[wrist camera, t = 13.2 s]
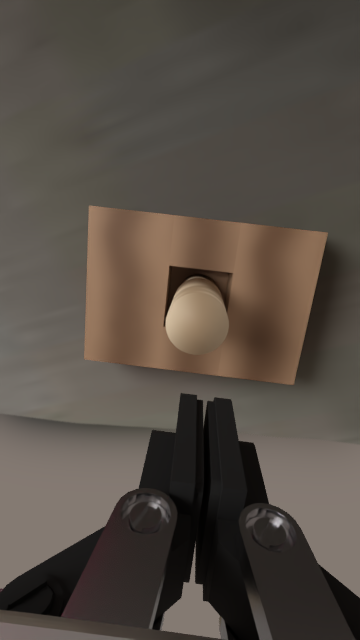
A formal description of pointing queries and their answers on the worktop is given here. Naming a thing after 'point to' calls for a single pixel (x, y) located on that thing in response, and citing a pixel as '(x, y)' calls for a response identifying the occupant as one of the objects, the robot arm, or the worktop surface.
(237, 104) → the worktop surface
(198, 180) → the worktop surface
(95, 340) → the board
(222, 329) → the peg
